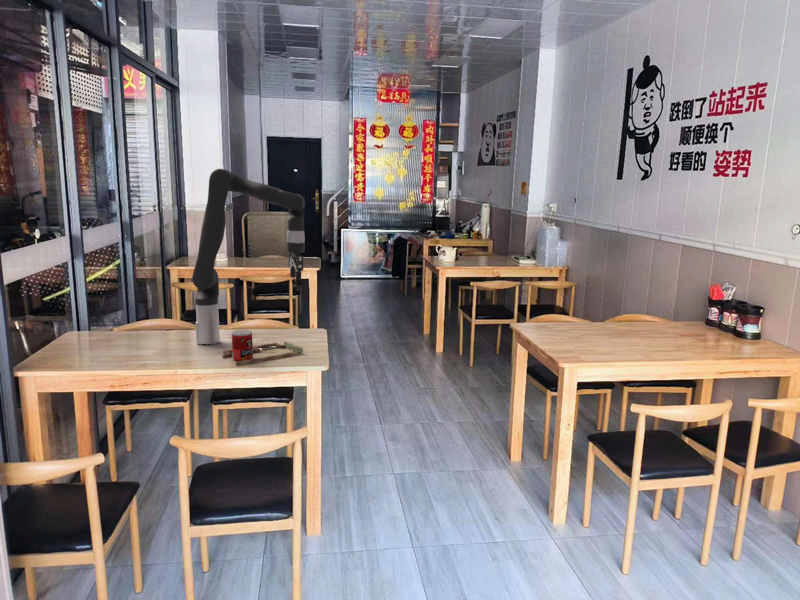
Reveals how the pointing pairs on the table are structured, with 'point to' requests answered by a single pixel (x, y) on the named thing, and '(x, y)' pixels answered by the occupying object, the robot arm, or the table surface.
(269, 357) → the brown pliers
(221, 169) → the robot arm
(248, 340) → the canned food
